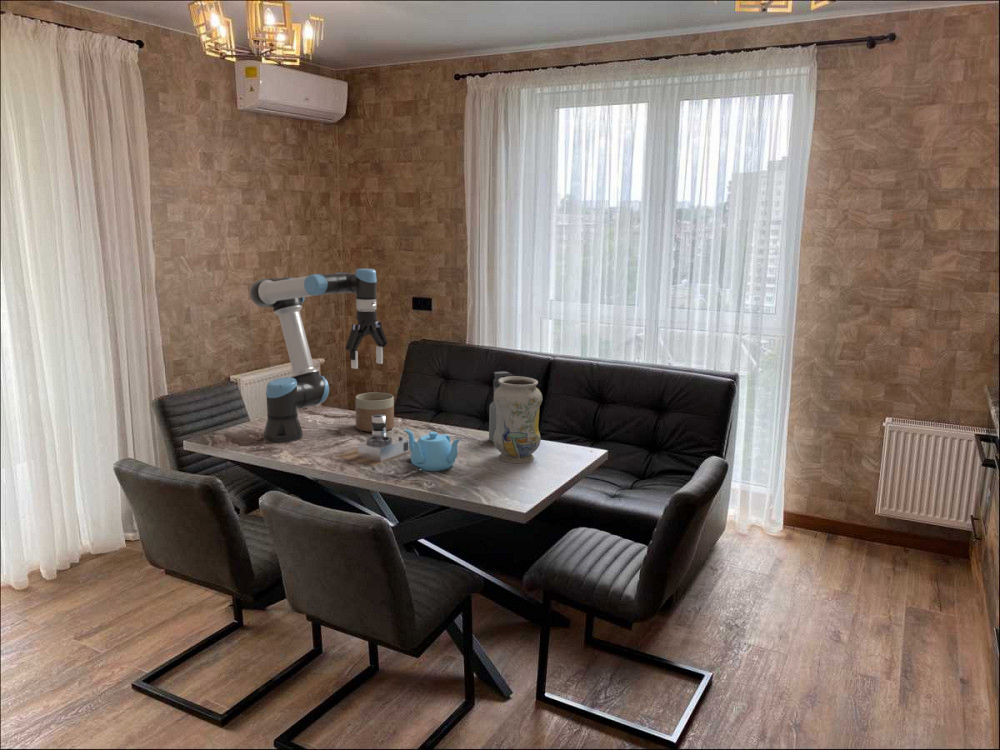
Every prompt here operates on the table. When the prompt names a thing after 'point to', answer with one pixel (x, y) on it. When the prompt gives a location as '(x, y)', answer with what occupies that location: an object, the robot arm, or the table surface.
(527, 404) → the vase
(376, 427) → the lens
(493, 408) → the water bottle
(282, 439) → the robot arm
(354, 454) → the board
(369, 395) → the planter
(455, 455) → the teapot
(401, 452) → the camera body
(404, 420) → the table surface
